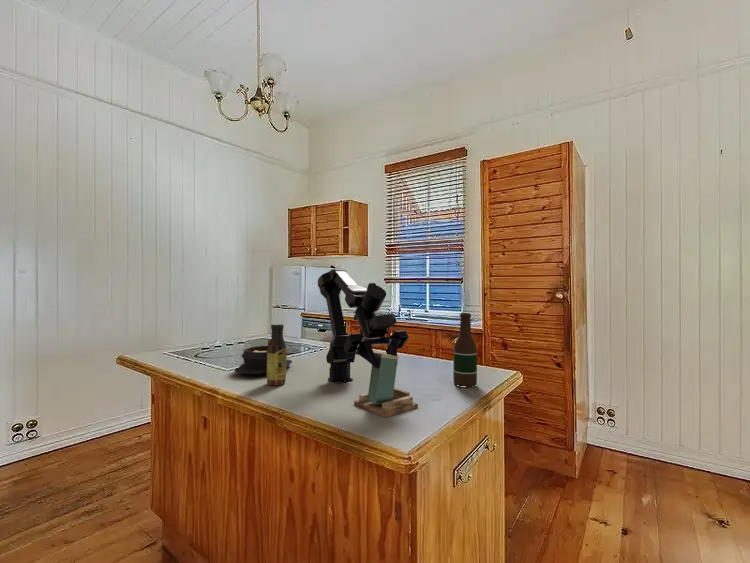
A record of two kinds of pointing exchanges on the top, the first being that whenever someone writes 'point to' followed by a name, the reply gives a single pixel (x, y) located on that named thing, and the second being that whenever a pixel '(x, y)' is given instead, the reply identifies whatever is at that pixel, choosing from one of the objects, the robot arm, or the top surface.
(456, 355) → the beer bottle
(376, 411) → the wooden square frame
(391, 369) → the tea tin
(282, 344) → the sauce bottle
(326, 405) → the top surface
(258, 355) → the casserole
